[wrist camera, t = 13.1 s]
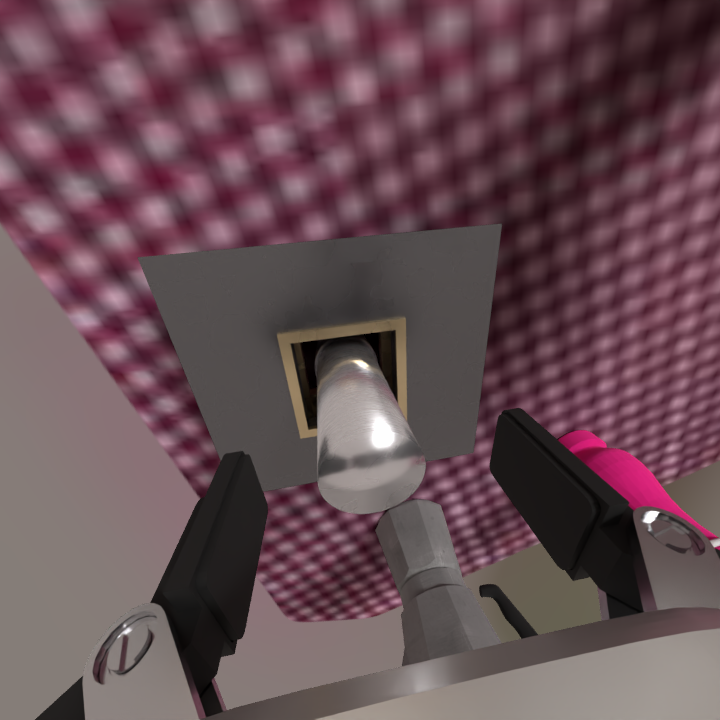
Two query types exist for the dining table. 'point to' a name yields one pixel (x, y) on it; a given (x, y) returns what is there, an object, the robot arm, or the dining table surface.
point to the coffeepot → (436, 586)
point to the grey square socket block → (330, 335)
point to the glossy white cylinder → (361, 431)
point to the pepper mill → (626, 476)
